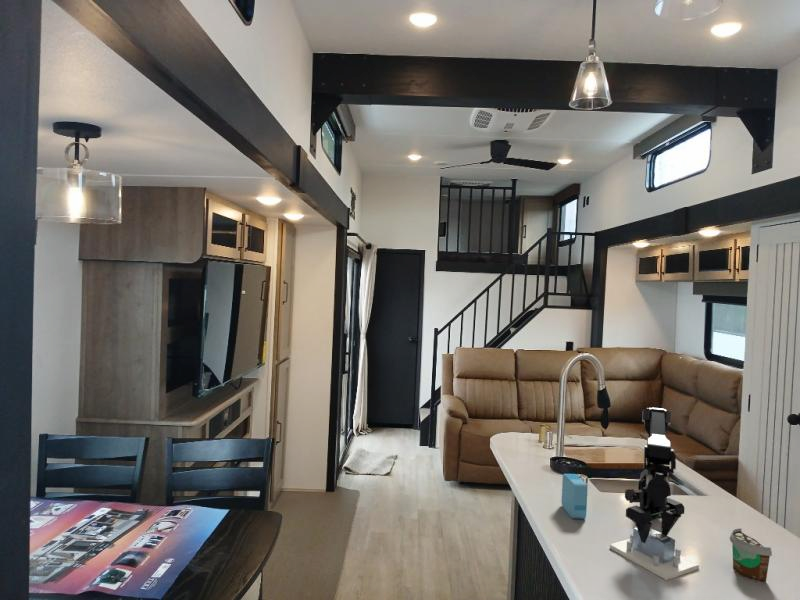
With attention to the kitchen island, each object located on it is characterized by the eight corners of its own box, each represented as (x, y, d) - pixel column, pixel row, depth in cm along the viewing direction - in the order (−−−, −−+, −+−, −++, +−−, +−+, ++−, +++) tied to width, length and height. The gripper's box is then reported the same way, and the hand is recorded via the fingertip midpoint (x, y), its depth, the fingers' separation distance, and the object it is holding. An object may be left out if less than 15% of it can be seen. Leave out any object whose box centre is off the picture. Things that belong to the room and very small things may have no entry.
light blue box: (586, 520, 182) (588, 485, 182) (573, 520, 182) (574, 484, 182) (573, 505, 194) (575, 472, 194) (561, 505, 194) (562, 472, 194)
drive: (643, 544, 164) (644, 524, 164) (674, 560, 155) (675, 539, 155) (632, 548, 162) (633, 527, 161) (662, 564, 153) (663, 542, 153)
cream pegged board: (641, 539, 170) (641, 527, 170) (698, 568, 153) (699, 556, 153) (609, 548, 163) (610, 536, 163) (666, 580, 147) (667, 566, 146)
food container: (718, 561, 158) (720, 527, 158) (737, 561, 158) (739, 527, 158) (748, 585, 146) (750, 548, 145) (770, 584, 146) (772, 548, 146)
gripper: (653, 473, 169) (650, 522, 169) (611, 481, 160) (609, 533, 161) (687, 485, 159) (684, 537, 160) (644, 495, 150) (641, 550, 151)
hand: (653, 539), depth 158 cm, fingers open, 9 cm apart
